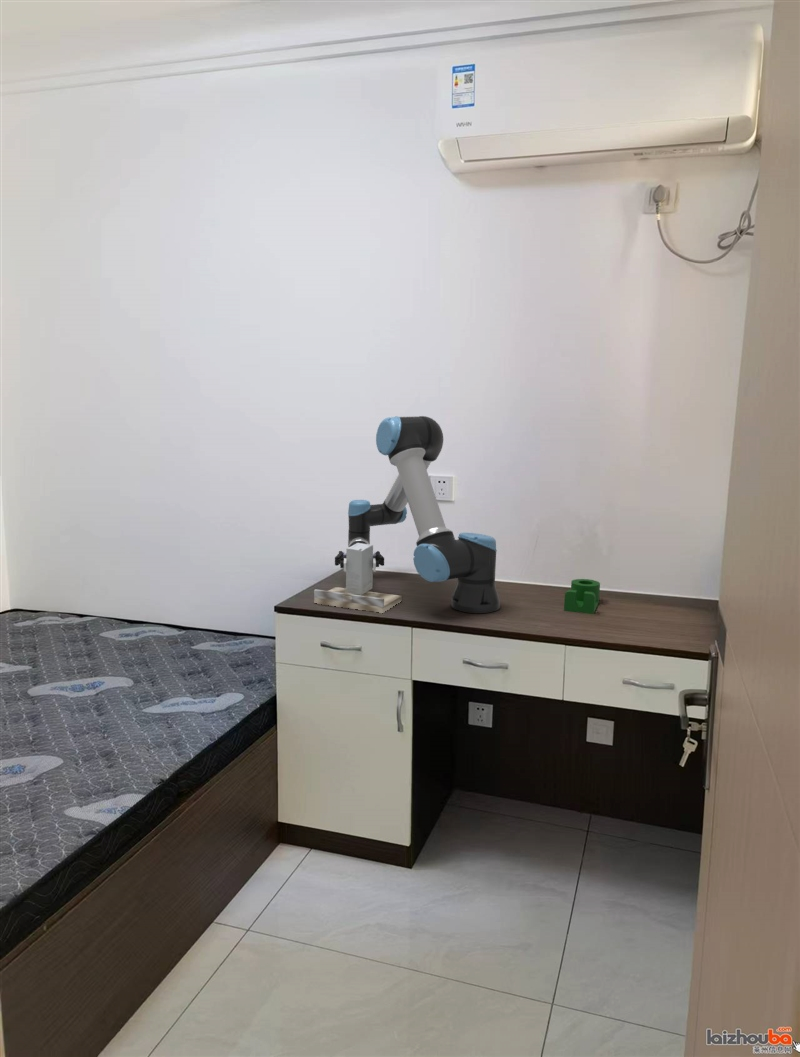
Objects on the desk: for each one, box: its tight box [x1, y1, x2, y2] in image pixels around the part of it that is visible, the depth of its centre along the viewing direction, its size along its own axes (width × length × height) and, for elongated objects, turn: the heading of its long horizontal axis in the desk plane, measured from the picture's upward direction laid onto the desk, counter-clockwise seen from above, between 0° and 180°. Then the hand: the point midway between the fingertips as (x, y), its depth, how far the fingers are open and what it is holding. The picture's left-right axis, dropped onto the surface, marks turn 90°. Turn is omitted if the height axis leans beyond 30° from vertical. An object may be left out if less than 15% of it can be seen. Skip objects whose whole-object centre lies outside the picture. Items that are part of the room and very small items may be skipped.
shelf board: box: [313, 586, 403, 614], centre depth 242 cm, size 24×14×4 cm, turn 66°
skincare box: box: [345, 543, 374, 595], centre depth 241 cm, size 8×6×15 cm
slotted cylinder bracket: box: [563, 578, 601, 615], centre depth 242 cm, size 18×9×6 cm, turn 159°
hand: (359, 567), depth 236 cm, fingers closed on skincare box, 8 cm apart
